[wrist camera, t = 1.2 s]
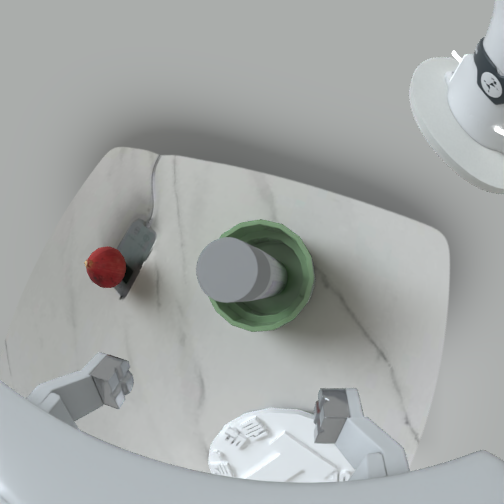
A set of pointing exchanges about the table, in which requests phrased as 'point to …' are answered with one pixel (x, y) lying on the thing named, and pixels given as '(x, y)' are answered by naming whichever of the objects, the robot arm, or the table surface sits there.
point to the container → (239, 272)
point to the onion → (106, 267)
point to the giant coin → (276, 449)
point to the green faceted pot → (298, 284)
